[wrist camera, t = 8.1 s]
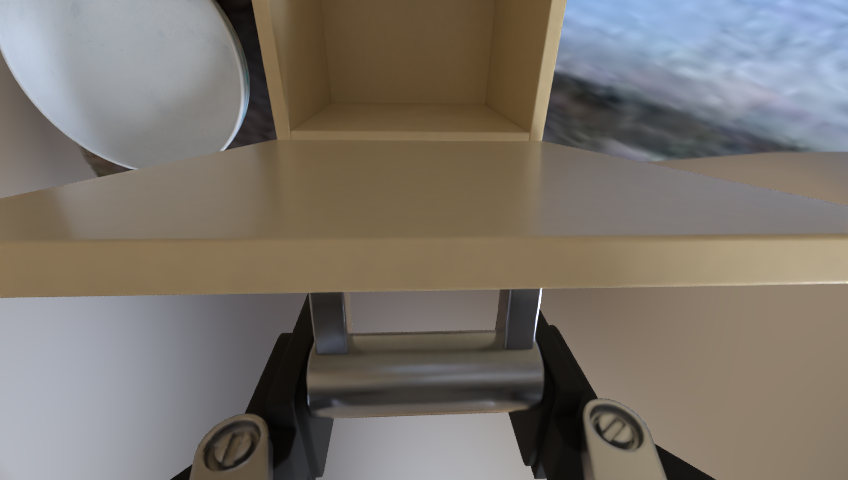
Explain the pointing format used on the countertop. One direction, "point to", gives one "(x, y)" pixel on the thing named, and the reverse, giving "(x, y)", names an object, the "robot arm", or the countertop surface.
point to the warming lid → (412, 248)
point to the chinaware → (130, 74)
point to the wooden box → (409, 68)
